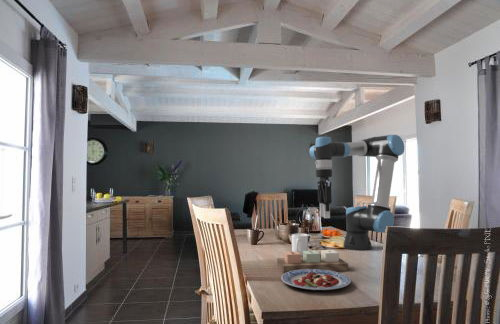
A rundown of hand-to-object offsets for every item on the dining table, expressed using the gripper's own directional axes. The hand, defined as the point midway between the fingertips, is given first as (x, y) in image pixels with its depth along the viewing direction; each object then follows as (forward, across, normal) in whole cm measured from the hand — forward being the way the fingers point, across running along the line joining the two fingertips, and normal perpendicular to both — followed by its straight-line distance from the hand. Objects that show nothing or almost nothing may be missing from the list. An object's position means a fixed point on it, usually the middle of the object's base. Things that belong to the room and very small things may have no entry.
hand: (324, 217), depth 164 cm
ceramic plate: (+21, +32, -15) cm, 41 cm away
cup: (+21, -15, -9) cm, 27 cm away
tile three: (+18, +10, -18) cm, 28 cm away
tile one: (+18, +10, -2) cm, 21 cm away
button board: (+21, +10, -10) cm, 25 cm away
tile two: (+18, +10, -10) cm, 23 cm away
